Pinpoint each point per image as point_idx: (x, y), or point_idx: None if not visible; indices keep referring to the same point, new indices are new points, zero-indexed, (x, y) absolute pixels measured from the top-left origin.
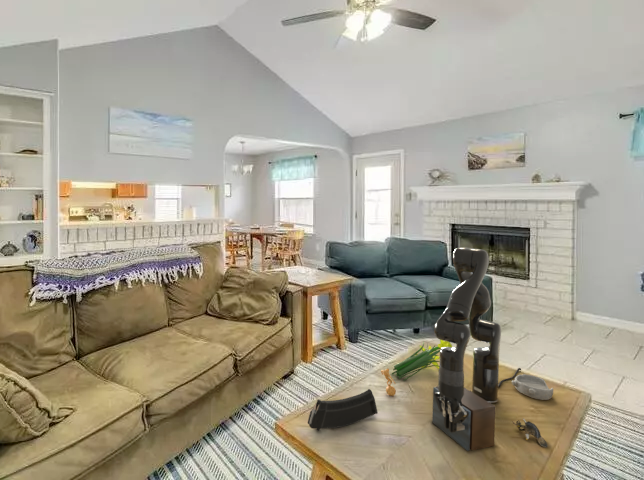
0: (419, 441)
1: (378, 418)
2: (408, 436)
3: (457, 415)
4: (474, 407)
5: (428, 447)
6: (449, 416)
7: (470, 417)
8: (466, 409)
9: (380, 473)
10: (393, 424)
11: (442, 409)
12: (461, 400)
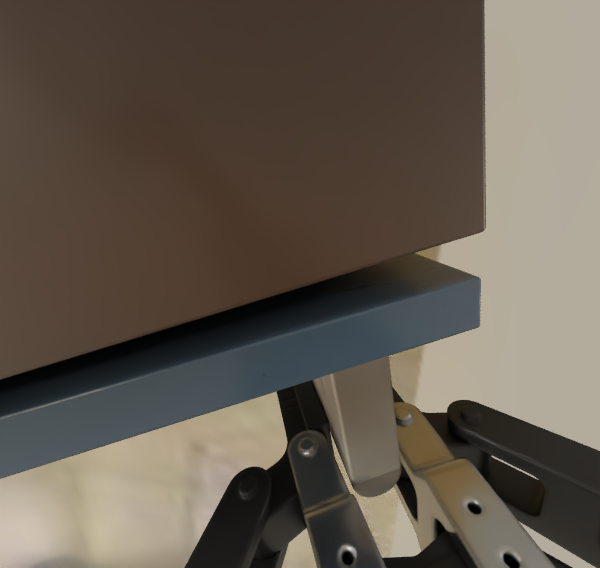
0: (234, 419)
1: (58, 547)
2: (199, 453)
3: (581, 554)
4: (396, 95)
5: (275, 396)
6: (402, 502)
7: (411, 256)
8: (424, 332)
9: (390, 552)
10: (102, 495)
11: (283, 542)
12: (45, 251)
